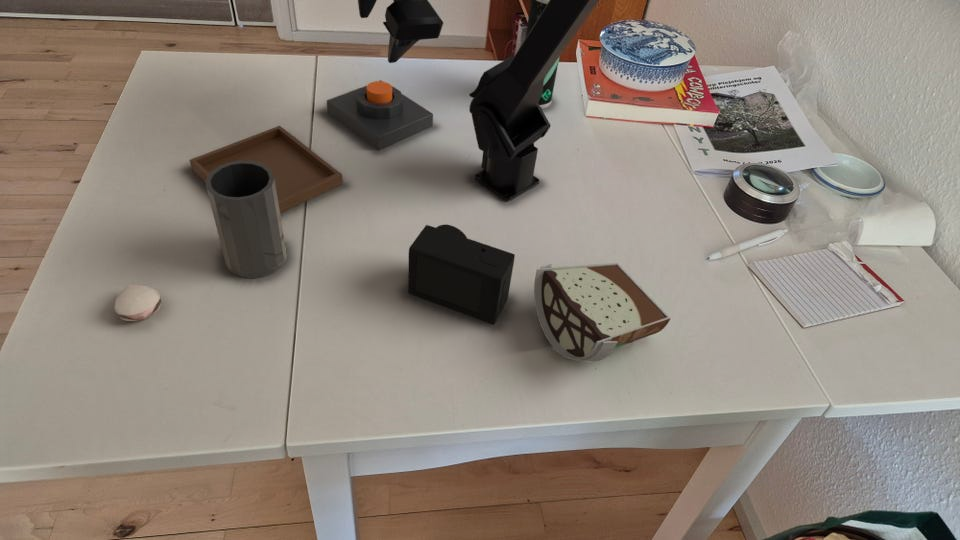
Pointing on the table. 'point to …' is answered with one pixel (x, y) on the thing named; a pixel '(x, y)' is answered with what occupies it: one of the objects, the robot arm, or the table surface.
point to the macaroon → (137, 302)
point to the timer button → (379, 92)
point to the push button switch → (380, 117)
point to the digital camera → (459, 272)
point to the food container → (593, 309)
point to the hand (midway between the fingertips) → (377, 39)
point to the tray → (277, 165)
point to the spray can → (536, 8)
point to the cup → (247, 218)
